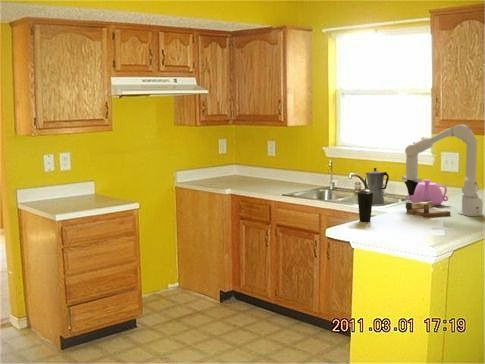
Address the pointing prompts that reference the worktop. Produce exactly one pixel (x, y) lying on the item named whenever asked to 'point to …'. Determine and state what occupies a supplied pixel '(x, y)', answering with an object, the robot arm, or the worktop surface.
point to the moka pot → (377, 185)
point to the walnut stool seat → (429, 211)
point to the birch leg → (418, 205)
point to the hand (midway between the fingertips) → (411, 195)
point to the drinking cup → (365, 204)
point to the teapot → (428, 193)
